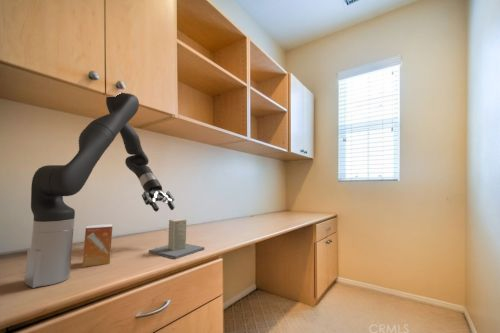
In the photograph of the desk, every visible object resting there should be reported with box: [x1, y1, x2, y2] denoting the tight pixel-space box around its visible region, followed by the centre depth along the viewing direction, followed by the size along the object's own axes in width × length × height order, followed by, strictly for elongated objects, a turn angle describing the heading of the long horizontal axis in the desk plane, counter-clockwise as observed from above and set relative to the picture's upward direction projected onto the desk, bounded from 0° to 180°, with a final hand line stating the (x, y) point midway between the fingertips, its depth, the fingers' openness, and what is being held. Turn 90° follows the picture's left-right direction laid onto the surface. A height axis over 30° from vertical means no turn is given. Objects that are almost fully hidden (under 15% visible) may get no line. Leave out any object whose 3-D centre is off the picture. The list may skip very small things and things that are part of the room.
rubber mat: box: [148, 243, 205, 260], centre depth 98 cm, size 16×16×1 cm
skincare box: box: [167, 218, 187, 251], centre depth 98 cm, size 6×4×12 cm
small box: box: [82, 223, 113, 268], centre depth 82 cm, size 8×6×13 cm
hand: (165, 209), depth 104 cm, fingers open, 8 cm apart
